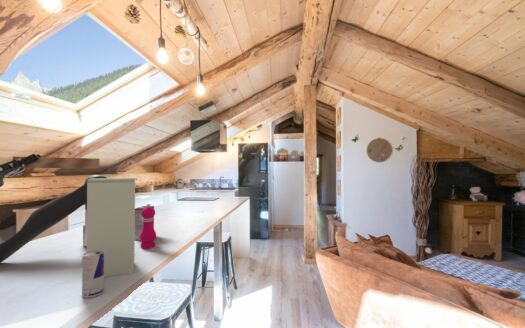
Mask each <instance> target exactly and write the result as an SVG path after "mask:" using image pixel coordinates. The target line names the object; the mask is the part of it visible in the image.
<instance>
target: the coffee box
mask: <svg viewBox="0 0 525 328" xmlns="http://www.w3.org/2000/svg"><path fill="white" fill-rule="evenodd" d="M150 207H152V208H154V209H155V206H154V205H150ZM144 208H146V205H142V206H139V207H135V241H140V234H141V232H142V229H143V221H142V220H143V219H142V218H143V216H142V215H141V212H142V210H143V209H144ZM153 217H154V218H155V215H154V216H153ZM153 227H154V228H155V220H154V221H153Z"/></svg>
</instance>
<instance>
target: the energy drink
mask: <svg viewBox="0 0 525 328" xmlns="http://www.w3.org/2000/svg"><path fill="white" fill-rule="evenodd" d="M81 264H82V265H81V266H82V267H81V273H82V274H81V275H82V276H81V278H82V279H81V296H82V297H83V298H85V299H92V298H96V297H98V296H100V295H102V294H103V292H104V289H105V288H104V282H105V281H104V278H105V277H104V253H103V251H91V252H87V251H86V252H84V253H83V255H82V263H81Z"/></svg>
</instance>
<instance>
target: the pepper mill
mask: <svg viewBox="0 0 525 328" xmlns="http://www.w3.org/2000/svg"><path fill="white" fill-rule="evenodd" d="M145 206H146V208H144V209H143V210H142V212H141V215H142V216H143V218H142V219H143V220H142V221H143V229H142V232H141V234H140V240H139V241H140V242H141V243H140V248H141V249H143V250H144V249H145V250H146V249H153V248H155V246H156V239H157V232H156V230H155V226H154V227H153V221H154V222H155V216H156V210H155V207H154V208H152V207H150V206H151V204H150V203H147V204H146V205H145ZM153 216H154V217H153Z"/></svg>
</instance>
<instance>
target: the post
mask: <svg viewBox="0 0 525 328" xmlns="http://www.w3.org/2000/svg"><path fill="white" fill-rule="evenodd" d="M135 209H136V178H135V177H116V178H115V177H114V178H110V177H107V178H99V179H88V183H87V247H86V253H87V252H91V251H103V253H104V278H106V277H113V276H119V275H124V274H125V275H126V274H133V273H134V271H135V270H134V269H135V255H136V253H135V250H136V249H135V247H136V246H135V241H136V240H135Z"/></svg>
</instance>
